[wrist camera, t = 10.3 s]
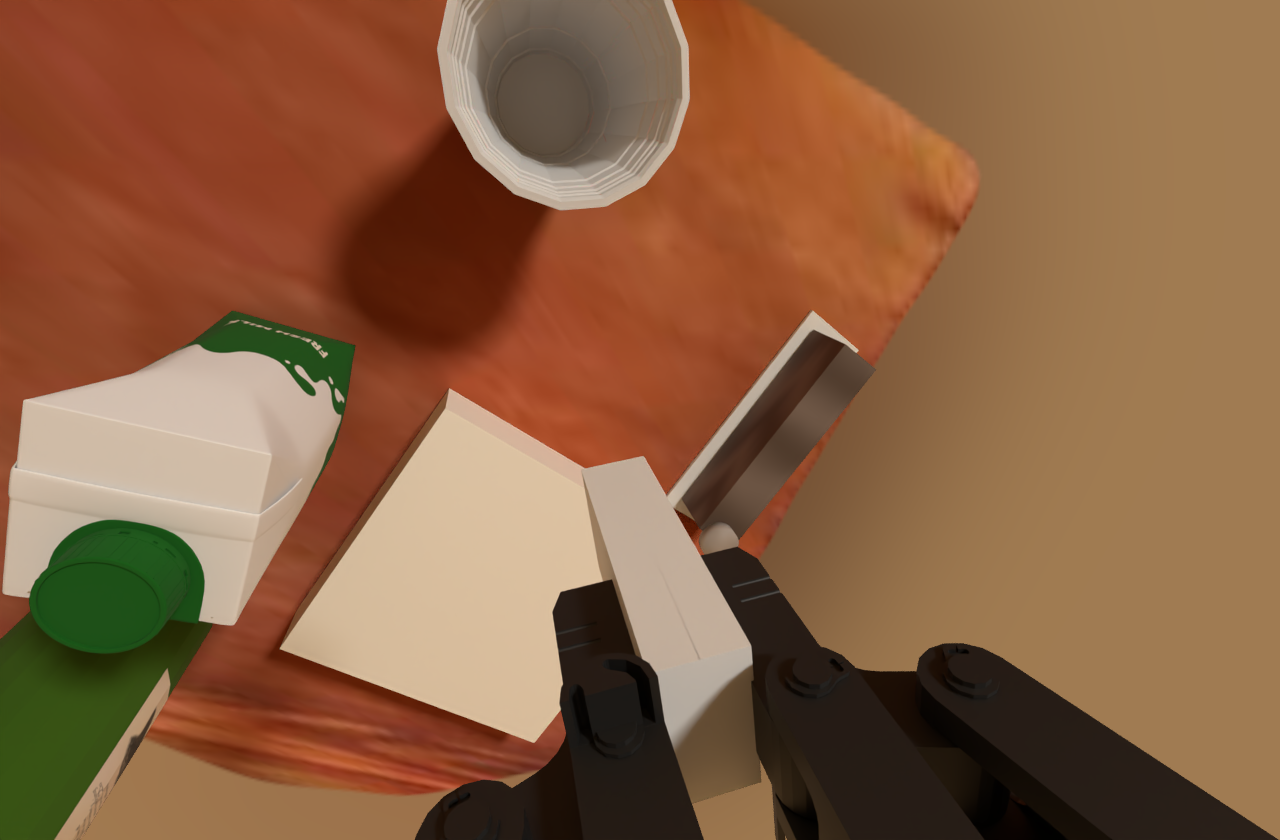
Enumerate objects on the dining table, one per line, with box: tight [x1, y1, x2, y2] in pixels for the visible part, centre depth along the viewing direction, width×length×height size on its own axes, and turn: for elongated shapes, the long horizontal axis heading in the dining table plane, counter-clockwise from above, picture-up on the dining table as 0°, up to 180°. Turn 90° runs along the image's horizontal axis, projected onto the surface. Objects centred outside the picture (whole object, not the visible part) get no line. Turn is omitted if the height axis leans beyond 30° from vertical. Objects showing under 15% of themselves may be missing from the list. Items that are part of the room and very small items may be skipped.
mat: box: [666, 310, 858, 521], centre depth 48 cm, size 5×18×1 cm, turn 143°
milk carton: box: [2, 311, 355, 654], centre depth 30 cm, size 9×9×20 cm
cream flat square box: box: [280, 388, 603, 743], centre depth 45 cm, size 20×20×4 cm
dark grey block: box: [682, 330, 876, 554], centre depth 45 cm, size 17×3×6 cm, turn 143°
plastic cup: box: [437, 0, 690, 210], centre depth 31 cm, size 11×11×12 cm
